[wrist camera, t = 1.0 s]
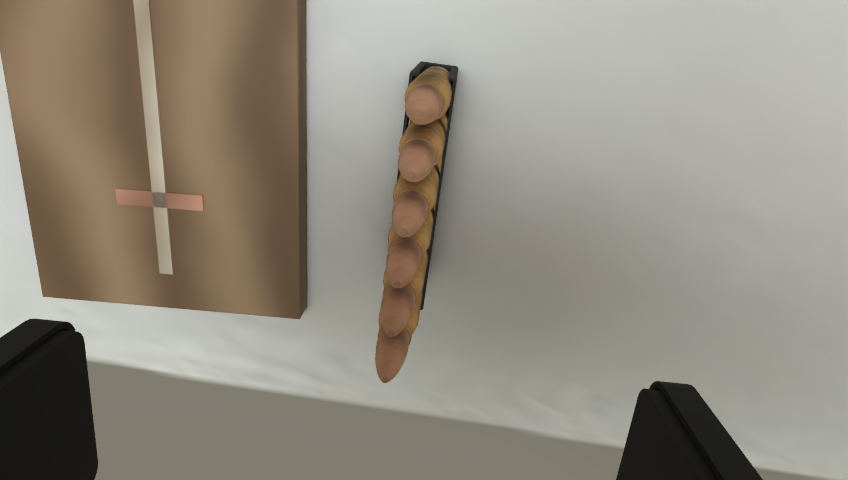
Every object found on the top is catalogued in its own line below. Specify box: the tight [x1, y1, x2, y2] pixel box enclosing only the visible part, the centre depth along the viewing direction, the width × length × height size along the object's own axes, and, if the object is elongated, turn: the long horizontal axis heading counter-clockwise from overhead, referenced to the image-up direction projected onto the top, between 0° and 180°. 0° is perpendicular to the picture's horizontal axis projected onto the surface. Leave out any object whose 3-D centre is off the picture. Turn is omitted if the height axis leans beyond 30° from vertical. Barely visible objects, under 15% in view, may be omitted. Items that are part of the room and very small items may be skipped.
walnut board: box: [0, 0, 307, 319], centre depth 26 cm, size 14×28×2 cm, turn 176°
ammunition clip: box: [375, 62, 458, 383], centre depth 23 cm, size 11×2×12 cm, turn 172°
